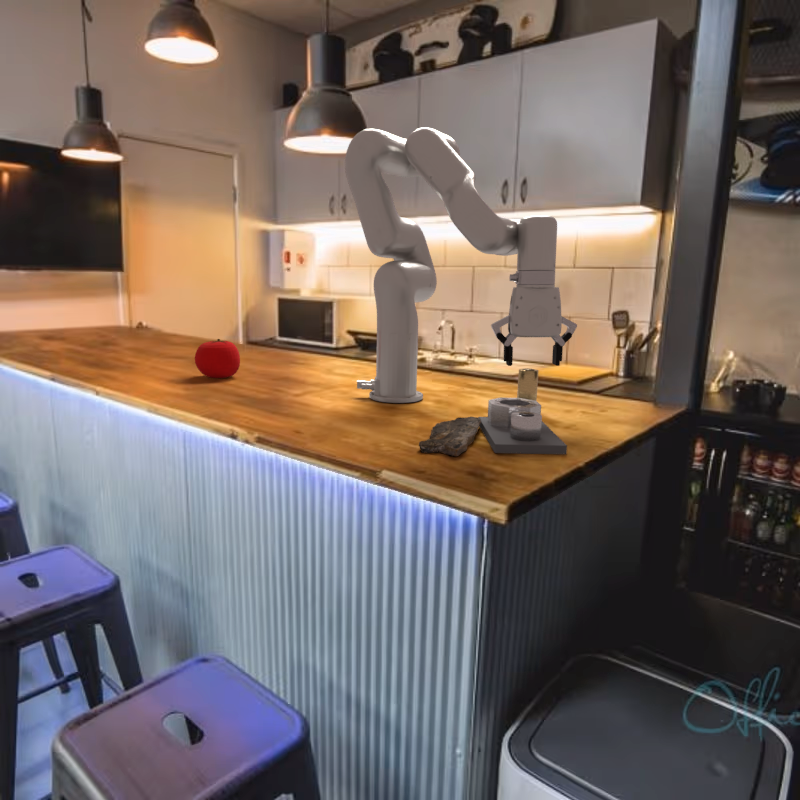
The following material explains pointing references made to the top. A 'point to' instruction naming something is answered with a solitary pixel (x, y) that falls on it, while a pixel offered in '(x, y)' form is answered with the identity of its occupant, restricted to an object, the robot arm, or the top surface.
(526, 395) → the brass nipple
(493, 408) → the sockets
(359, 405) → the top surface
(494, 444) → the fitting board
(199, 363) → the tomato
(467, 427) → the rock
